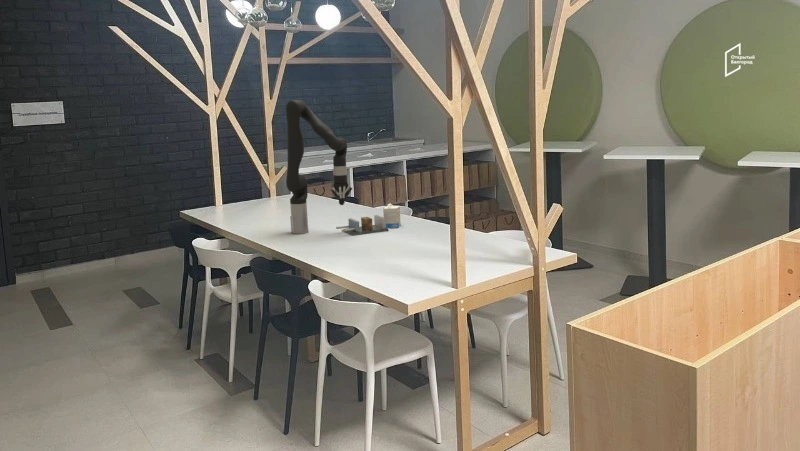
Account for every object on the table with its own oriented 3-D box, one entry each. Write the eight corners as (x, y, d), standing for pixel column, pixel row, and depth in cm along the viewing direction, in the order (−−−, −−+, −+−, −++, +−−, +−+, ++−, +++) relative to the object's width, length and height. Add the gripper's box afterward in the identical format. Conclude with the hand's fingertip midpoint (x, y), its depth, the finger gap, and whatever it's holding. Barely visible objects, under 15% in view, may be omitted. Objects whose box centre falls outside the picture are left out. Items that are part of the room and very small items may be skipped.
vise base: (352, 235, 378) (351, 222, 377) (343, 231, 391) (342, 218, 389) (388, 230, 387) (387, 218, 386) (378, 226, 399) (378, 214, 398)
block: (366, 229, 385) (365, 219, 384) (361, 227, 391) (361, 217, 390) (372, 229, 387) (372, 218, 385) (368, 226, 393) (367, 216, 392)
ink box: (398, 228, 394) (397, 205, 391) (383, 228, 395) (382, 205, 393) (400, 225, 402) (400, 202, 399) (387, 225, 404) (386, 202, 401)
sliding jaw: (342, 233, 377) (342, 223, 376) (335, 229, 387) (335, 220, 386) (359, 231, 381) (359, 221, 380) (352, 227, 391) (351, 218, 390)
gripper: (331, 175, 371) (332, 207, 374) (353, 173, 376) (355, 204, 380) (326, 174, 377) (328, 205, 381) (349, 172, 383) (350, 202, 386)
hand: (341, 204), depth 380 cm, fingers closed
